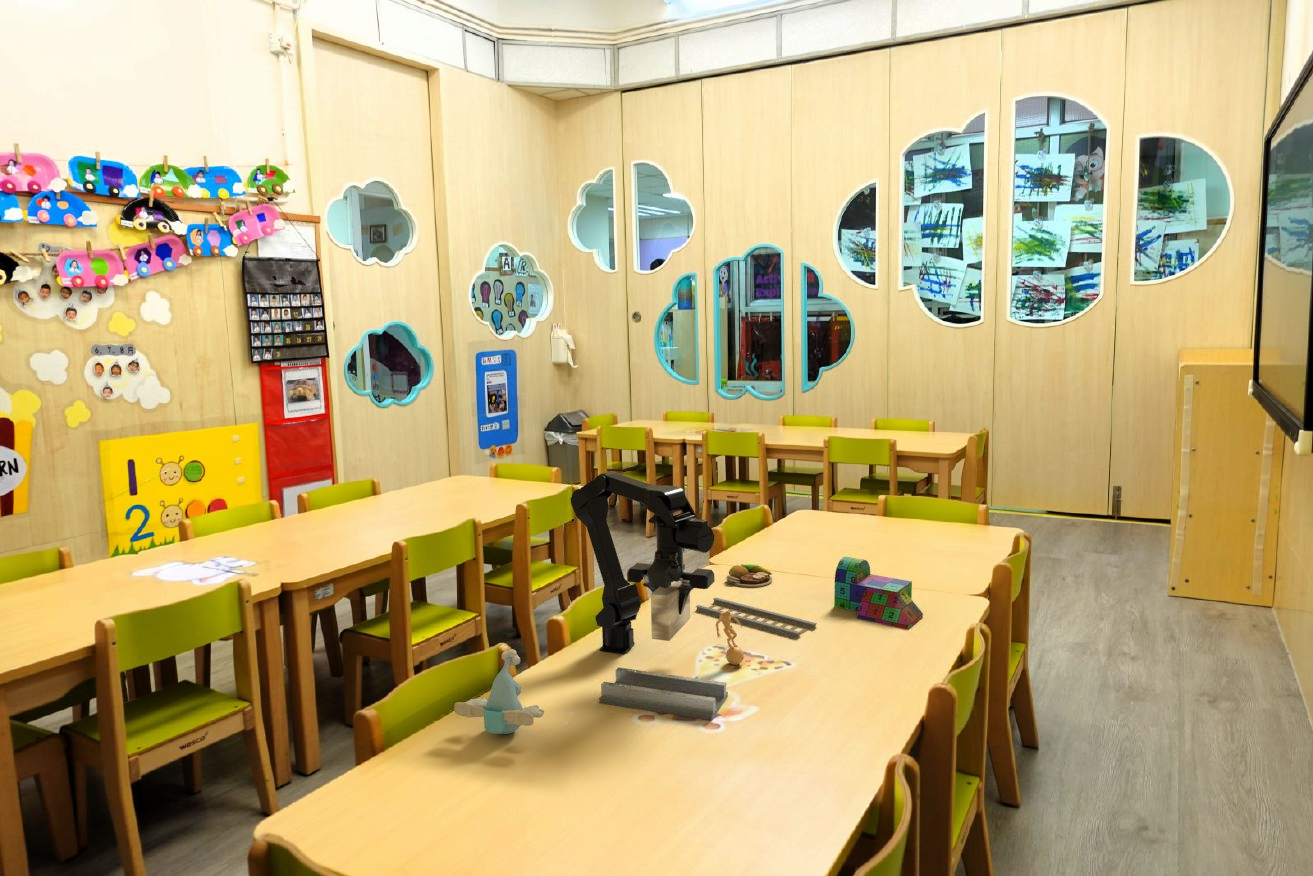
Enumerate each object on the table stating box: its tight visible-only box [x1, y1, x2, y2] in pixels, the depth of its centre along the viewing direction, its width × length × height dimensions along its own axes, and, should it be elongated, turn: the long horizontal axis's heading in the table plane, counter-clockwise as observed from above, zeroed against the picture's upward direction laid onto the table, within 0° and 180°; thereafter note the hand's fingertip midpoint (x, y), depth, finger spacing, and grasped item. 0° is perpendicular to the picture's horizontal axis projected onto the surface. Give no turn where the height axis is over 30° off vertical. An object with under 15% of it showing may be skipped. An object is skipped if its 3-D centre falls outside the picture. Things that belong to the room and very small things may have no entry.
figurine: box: [715, 610, 745, 666], centre depth 193 cm, size 8×6×12 cm
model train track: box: [695, 597, 818, 640], centre depth 221 cm, size 11×31×2 cm, turn 49°
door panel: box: [650, 581, 691, 642], centre depth 191 cm, size 4×14×10 cm, turn 159°
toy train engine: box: [833, 556, 924, 630], centre depth 223 cm, size 22×15×12 cm
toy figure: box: [453, 648, 545, 735], centre depth 164 cm, size 17×10×15 cm, turn 71°
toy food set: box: [726, 563, 773, 588], centre depth 252 cm, size 20×14×4 cm
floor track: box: [598, 667, 729, 721], centre depth 177 cm, size 24×11×4 cm, turn 69°
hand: (671, 613), depth 191 cm, fingers closed on door panel, 4 cm apart
